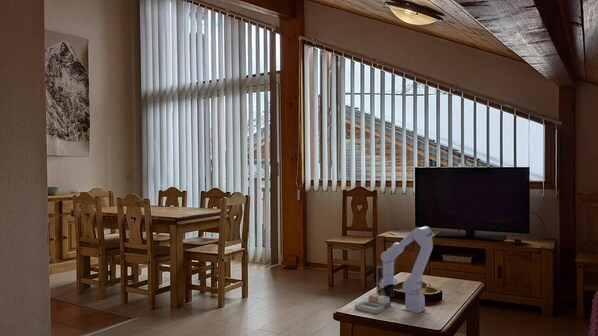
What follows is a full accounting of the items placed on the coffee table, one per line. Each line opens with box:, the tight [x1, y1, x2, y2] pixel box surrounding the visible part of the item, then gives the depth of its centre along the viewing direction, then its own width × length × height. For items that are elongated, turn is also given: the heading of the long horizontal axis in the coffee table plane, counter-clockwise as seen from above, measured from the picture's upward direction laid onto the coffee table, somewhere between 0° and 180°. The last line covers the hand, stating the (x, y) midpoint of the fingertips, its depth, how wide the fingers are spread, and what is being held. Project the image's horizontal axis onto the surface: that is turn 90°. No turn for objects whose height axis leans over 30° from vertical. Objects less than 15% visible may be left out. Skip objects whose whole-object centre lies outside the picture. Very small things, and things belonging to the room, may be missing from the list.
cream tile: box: [377, 295, 390, 304], centre depth 267 cm, size 4×4×3 cm
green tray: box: [354, 300, 385, 315], centre depth 262 cm, size 13×8×2 cm, turn 49°
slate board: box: [364, 299, 392, 310], centre depth 268 cm, size 12×8×2 cm
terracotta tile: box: [368, 293, 380, 302], centre depth 270 cm, size 4×4×3 cm
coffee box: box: [376, 265, 386, 296], centre depth 288 cm, size 9×6×16 cm
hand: (388, 298), depth 271 cm, fingers closed
